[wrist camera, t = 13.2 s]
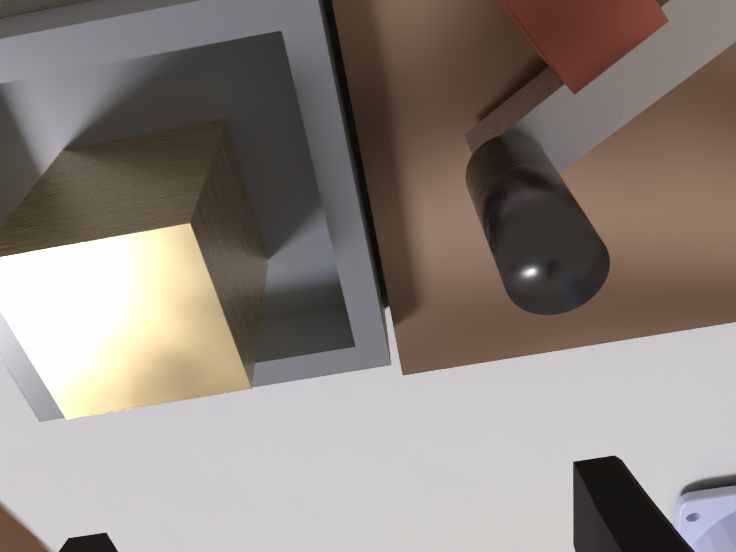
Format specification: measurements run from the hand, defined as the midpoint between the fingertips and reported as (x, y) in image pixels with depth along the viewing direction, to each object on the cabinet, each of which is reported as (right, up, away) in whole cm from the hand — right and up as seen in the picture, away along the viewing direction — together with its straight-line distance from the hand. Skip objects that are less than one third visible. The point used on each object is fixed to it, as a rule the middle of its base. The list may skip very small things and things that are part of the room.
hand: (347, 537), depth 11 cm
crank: (+6, +9, +4) cm, 12 cm away
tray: (-5, +6, +7) cm, 10 cm away
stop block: (-5, +6, +7) cm, 10 cm away
